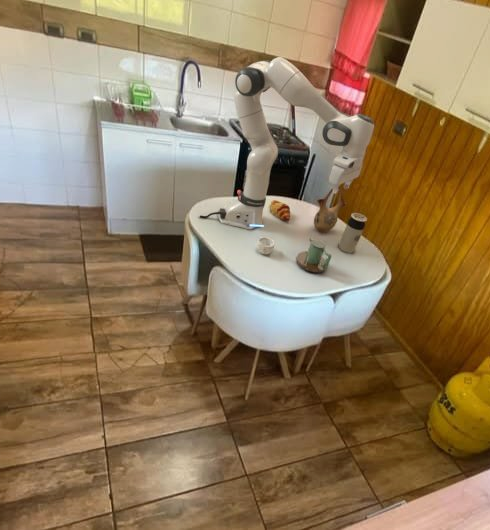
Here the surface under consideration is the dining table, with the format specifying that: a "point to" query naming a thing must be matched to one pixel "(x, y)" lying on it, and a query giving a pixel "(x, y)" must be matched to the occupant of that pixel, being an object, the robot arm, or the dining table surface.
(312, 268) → the green mug on saucer
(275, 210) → the croissant
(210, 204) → the dining table surface
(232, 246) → the dining table surface
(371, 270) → the dining table surface
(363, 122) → the robot arm
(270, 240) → the teacup
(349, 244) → the travel mug
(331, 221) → the ceramic vessel
